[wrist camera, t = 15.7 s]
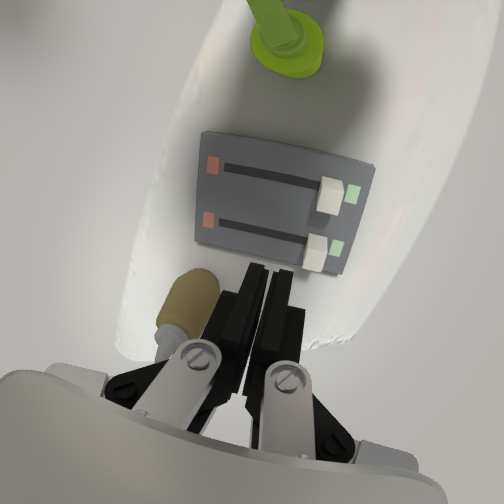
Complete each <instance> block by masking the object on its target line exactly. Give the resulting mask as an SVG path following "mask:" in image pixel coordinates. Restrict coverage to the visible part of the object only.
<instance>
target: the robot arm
mask: <svg viewBox="0 0 504 504" xmlns="http://www.w3.org/2000/svg"><path fill="white" fill-rule="evenodd" d="M264 266H265V265H261V264H257V263H253V262H250V265H249V267H248V270H247V272H246V275H245V277H244V280H243V282H242V285H241V287H240V290H239V293H238V294H237V293H233V292H229V291H225V290H223V291H222V293H221V295H220V297H219V299H218V301H217V303H216V306H215V308H214V310H213V312H212V314H211V316H210V319H209V321H208V323H207V325H206V327H205V329H204V332H203V334H202V336H201V338H200V339H192V340H188V341H186V342H184V343H182V344H181V345H180V346H179V347H178V349H177V350H176V351H175V353H174V354H173V355H172V357H171V358H170V359H168V360H165V361H162V362H158V363H155V364H152V365H149V366H146V367H143V368H139V369H136V370H133V371H129V372H126V373H123V374H119V375H117V376H114V377H110V376H108V375H107V373H103V372H98V371H94V370H89V369H85V368H81V367H76V366H72V365H68V364H64V363H55V364H52V365H51V366H49V367H48V368H47V369H46V371H45V372H39V371H33V370H16V371H12V372H9V373H8V374H6V375H5V376H4V377H2V378H1V379H0V504H448V501H447V497H446V494H445V492H444V490H443V488H442V487H441V486H440V485H439V484H438V483H437V482H435V481H434V480H432V479H431V478H429V477H427V476H425V475H422V474H420V473H418V462H417V459H416V458H415V457H414V456H413V455H412V454H410V453H407V452H404V451H400V450H397V449H393V448H389V447H385V446H382V445H379V444H375V443H372V442H368V441H365V440H361V441H357V440H354V439H353V438H352V437H351V435H350V434H349V433H348V432H347V431H346V429H345V428H344V427H343V426H342V425H341V424H340V423H339V422H338V421H337V420H336V419H335V418H334V417H333V416H332V414H331V413H330V412H329V411H328V410H327V409H326V408H325V407H324V406H323V404H322V403H320V401H319V400H318V399H317V398H316V397H315V396H314V394H313V393H312V385H311V378H310V374H309V373H308V371H307V370H306V369H305V368H304V367H303V366H302V365H300V364H299V359H300V352H301V344H302V336H303V328H304V320H305V309H302V308H297V307H293V306H288V301H289V295H290V290H291V284H292V278H293V272H292V271H288V270H283V269H280V270H279V272H275V271H273V275H272V278H271V282H270V286H269V289H268V293H267V297H266V300H265V304H264V308H263V311H262V315H261V318H260V322H259V317H260V312H261V308H262V303H263V298H264V293H265V288H266V284H267V279H268V274H269V270H266V269H264ZM258 322H259V326H258ZM257 326H258V329H257ZM256 329H257V333H256ZM255 333H256V336H255ZM254 336H255V340H254ZM253 340H254V343H253ZM252 343H253V347H252ZM251 347H252V352H251V356H250V361H249V366H248V370H247V375H246V380H245V384H244V388H243V393H242V395H244V396H247V400H246V404H245V408H246V409H247V411H248V412H249V413H250V415H251V416H252V419H251V429H250V442H249V448H246V447H242V446H237V445H234V444H230V443H226V442H222V441H219V440H215V439H211V438H208V437H204V436H202V434H203V432H204V431H205V429H206V427H207V425H208V424H209V422H210V420H211V418H212V416H213V415H214V413H215V411H216V408H217V406H220V405H222V404H224V403H226V402H227V401H228V400H230V397H231V394H232V393H236V394H237V393H238V391H239V387H240V384H241V381H242V377H243V374H244V370H245V367H246V364H247V360H248V357H249V353H250V350H251Z"/></svg>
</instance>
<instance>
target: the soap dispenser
mask: <svg viewBox="0 0 504 504" xmlns="http://www.w3.org/2000/svg"><path fill="white" fill-rule="evenodd" d="M247 2H248V4H249V6H250V8H251V10H252V13H253V15H254V17H255V19H256V21H257V23H256V24H255V26H254V27H253V30H252V33H251V38H250V43H251V48H252V51H253V53H254V55H255V57H256V58H257V60H258V61H259V62H260V63H261V64H262V65H264V66H265V67H267V68H268V69H270V70H273V71H275V72H278V73H280V74H283V75H285V76H288V77H291V78H295V79H303V78H307V77H310V76H312V75H313V74H315V73H316V72H317V71H318V69H319V68H320V66H321V63H322V57H323V48H324V37H323V33H322V30H321V28H320V27H319V25H318V24H317V22H316V21H315V20H314V19H313V18H311V17H310V16H309V15H307V14H305V13H303V12H301V11H298V10H293V9H285V7H284V5H283V3H282V1H281V0H247Z"/></svg>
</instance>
